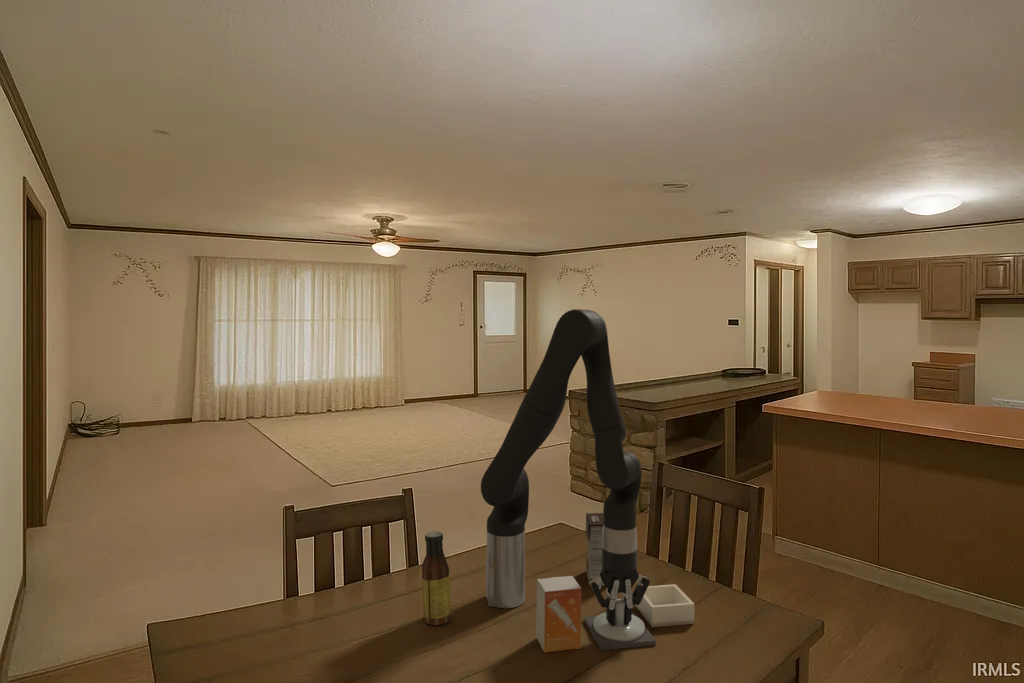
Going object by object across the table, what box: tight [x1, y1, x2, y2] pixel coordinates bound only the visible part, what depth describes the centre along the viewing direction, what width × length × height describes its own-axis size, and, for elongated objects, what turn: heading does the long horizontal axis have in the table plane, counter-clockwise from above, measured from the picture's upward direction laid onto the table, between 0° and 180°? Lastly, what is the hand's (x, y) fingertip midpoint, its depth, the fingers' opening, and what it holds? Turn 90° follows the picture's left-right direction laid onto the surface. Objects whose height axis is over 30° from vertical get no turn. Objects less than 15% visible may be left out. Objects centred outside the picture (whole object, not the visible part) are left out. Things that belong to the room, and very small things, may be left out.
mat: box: [584, 612, 657, 651], centre depth 131 cm, size 12×12×1 cm
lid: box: [593, 598, 646, 642], centre depth 131 cm, size 11×11×6 cm
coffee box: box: [585, 512, 605, 586], centre depth 158 cm, size 9×6×16 cm
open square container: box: [635, 584, 695, 628], centre depth 139 cm, size 10×10×4 cm
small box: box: [536, 575, 582, 654], centre depth 127 cm, size 8×6×13 cm
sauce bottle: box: [421, 530, 452, 626], centre depth 136 cm, size 7×6×20 cm
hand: (618, 623), depth 131 cm, fingers closed
